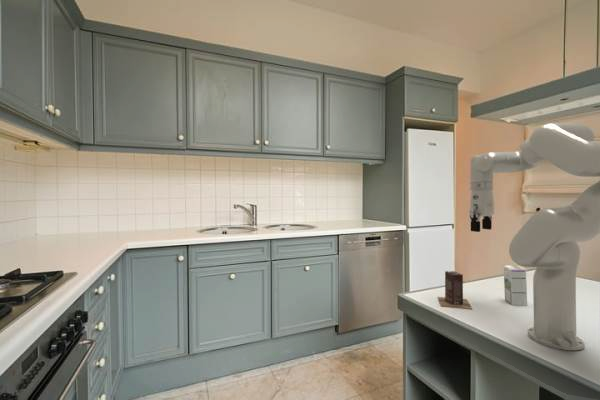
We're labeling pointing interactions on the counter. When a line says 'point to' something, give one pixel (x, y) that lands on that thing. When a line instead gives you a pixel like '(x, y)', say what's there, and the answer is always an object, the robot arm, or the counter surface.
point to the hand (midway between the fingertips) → (481, 230)
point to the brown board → (448, 304)
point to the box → (454, 287)
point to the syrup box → (515, 285)
